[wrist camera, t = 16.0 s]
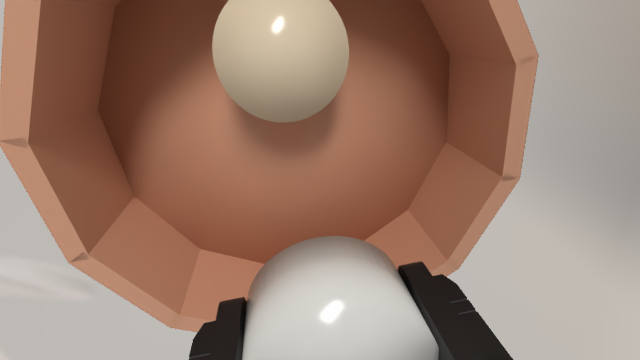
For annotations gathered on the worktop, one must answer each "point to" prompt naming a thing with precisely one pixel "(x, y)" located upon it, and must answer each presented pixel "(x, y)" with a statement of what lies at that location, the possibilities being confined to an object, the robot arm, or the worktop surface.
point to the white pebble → (333, 306)
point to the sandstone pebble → (280, 56)
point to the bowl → (258, 142)
